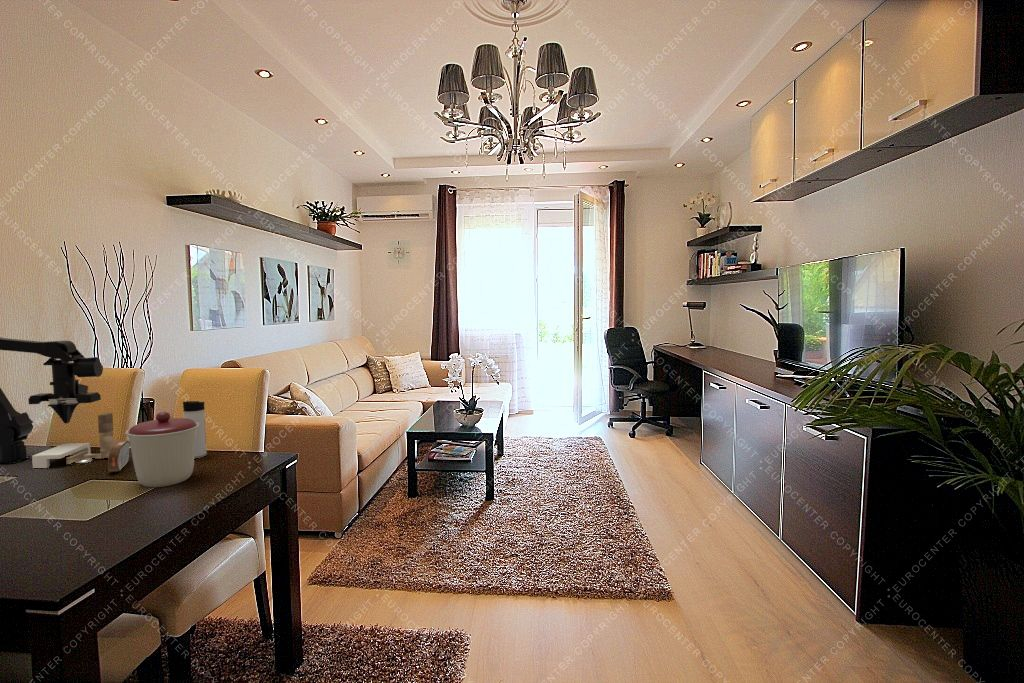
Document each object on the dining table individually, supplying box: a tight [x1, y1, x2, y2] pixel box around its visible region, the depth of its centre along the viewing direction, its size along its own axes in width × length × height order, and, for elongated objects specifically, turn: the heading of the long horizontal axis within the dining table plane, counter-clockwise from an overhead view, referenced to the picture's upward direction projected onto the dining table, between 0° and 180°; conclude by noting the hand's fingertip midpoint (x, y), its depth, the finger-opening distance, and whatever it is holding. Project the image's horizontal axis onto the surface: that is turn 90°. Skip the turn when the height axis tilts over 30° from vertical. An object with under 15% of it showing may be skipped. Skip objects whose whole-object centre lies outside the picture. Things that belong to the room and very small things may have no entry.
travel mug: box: [182, 400, 208, 458], centre depth 173 cm, size 6×7×20 cm
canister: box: [124, 411, 200, 488], centre depth 150 cm, size 18×18×21 cm
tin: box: [107, 439, 131, 473], centre depth 162 cm, size 15×3×8 cm, turn 25°
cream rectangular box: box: [31, 442, 92, 469], centre depth 168 cm, size 8×14×4 cm, turn 8°
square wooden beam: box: [65, 412, 115, 465], centre depth 168 cm, size 9×9×15 cm
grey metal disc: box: [74, 458, 93, 464], centre depth 167 cm, size 4×4×1 cm
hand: (66, 423), depth 172 cm, fingers closed
